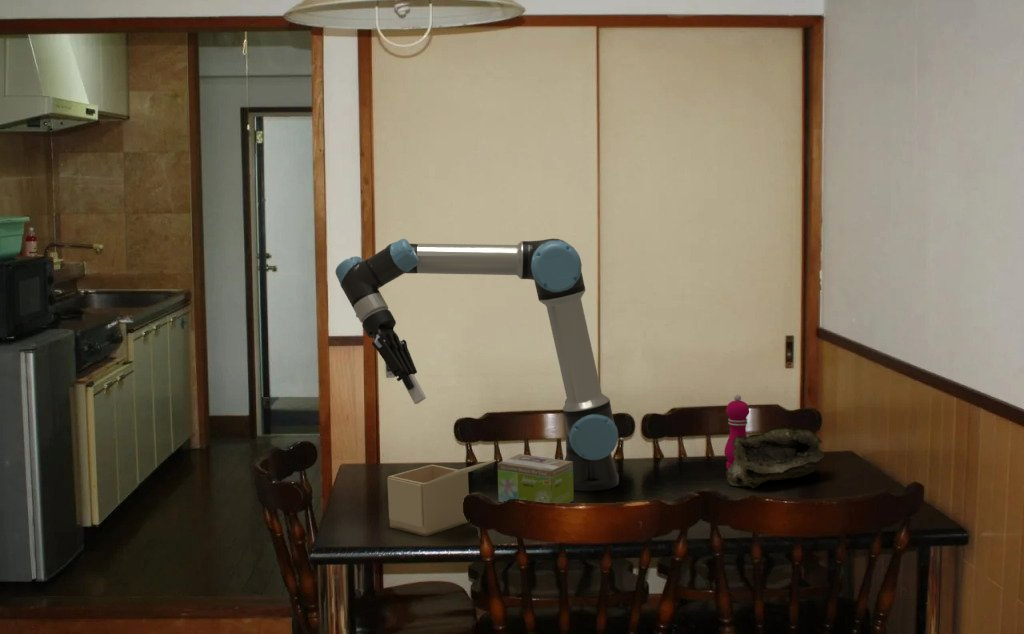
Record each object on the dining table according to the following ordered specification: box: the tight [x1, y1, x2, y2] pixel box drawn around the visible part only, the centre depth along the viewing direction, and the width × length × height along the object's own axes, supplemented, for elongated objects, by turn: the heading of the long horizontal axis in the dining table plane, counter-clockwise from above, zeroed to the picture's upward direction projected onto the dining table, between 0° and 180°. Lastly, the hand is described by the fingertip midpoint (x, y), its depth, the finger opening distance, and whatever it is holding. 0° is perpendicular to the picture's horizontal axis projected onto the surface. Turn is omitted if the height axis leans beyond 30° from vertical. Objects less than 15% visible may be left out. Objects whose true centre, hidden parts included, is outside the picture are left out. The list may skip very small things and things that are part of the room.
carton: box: [386, 464, 470, 537], centre depth 281 cm, size 15×13×12 cm
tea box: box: [497, 453, 575, 504], centre depth 279 cm, size 15×10×15 cm
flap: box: [426, 459, 497, 484], centre depth 272 cm, size 13×1×10 cm
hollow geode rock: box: [725, 426, 826, 489], centre depth 311 cm, size 28×13×15 cm
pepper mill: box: [723, 394, 750, 470], centre depth 323 cm, size 7×7×20 cm
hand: (420, 400), depth 283 cm, fingers closed
